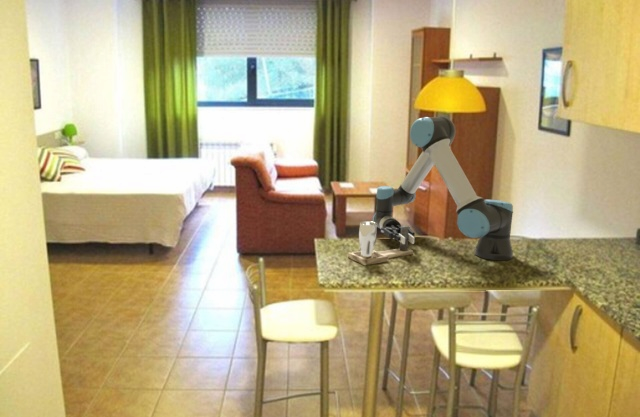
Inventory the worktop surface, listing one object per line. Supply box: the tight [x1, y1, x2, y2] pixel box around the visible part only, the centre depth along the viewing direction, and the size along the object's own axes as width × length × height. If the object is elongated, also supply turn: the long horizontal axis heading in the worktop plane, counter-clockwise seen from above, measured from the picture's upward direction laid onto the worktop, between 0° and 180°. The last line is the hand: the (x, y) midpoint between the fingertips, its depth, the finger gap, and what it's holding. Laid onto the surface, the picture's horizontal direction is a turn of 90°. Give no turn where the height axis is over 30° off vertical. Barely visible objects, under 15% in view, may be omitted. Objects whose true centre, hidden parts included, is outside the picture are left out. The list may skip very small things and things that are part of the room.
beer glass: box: [358, 220, 378, 259], centre depth 236 cm, size 7×7×15 cm
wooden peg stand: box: [347, 224, 414, 266], centre depth 241 cm, size 11×27×12 cm, turn 122°
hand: (408, 240), depth 241 cm, fingers closed on wooden peg stand, 3 cm apart
